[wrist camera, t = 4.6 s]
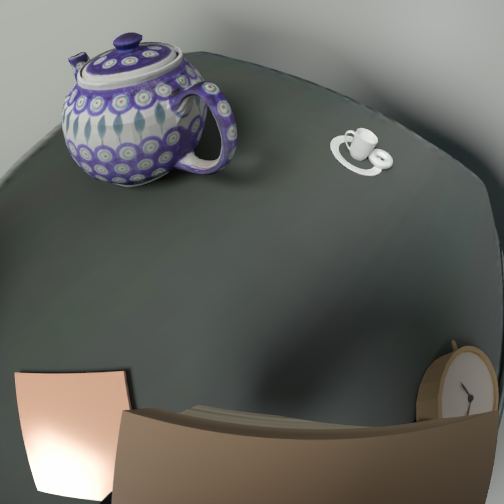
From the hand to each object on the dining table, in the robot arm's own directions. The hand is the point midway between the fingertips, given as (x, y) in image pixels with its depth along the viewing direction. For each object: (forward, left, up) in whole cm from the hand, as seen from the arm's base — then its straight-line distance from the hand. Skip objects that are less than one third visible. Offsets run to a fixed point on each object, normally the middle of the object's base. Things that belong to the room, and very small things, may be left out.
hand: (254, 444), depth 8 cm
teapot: (+26, -11, -13) cm, 31 cm away
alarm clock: (-18, -13, -13) cm, 26 cm away
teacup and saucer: (+7, -32, -13) cm, 35 cm away
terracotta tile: (+6, +11, -13) cm, 18 cm away
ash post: (-1, +1, -7) cm, 7 cm away
